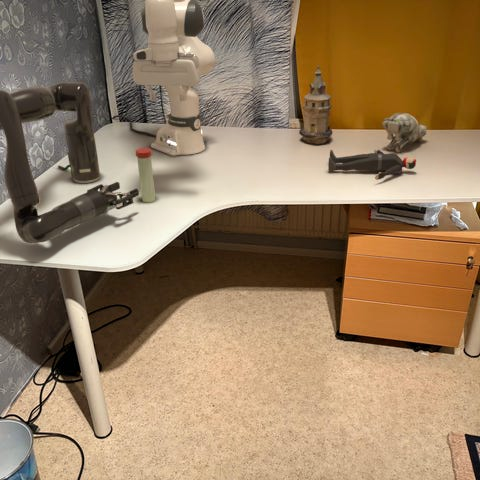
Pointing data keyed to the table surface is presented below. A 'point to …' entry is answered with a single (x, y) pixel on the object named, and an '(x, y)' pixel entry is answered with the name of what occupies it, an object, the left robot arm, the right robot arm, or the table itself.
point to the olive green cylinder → (146, 179)
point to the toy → (371, 163)
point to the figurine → (403, 130)
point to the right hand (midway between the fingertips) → (168, 100)
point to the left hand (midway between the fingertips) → (128, 188)
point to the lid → (143, 152)
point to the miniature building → (316, 112)
